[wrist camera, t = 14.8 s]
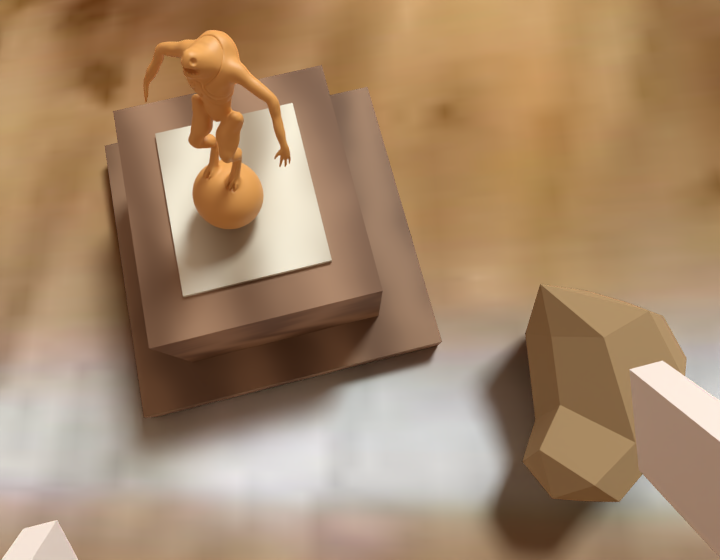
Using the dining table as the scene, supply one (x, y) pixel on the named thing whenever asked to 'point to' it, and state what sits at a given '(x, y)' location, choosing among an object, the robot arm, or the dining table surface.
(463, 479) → the dining table surface
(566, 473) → the low-poly potato
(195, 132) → the figurine
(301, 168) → the pedestal
